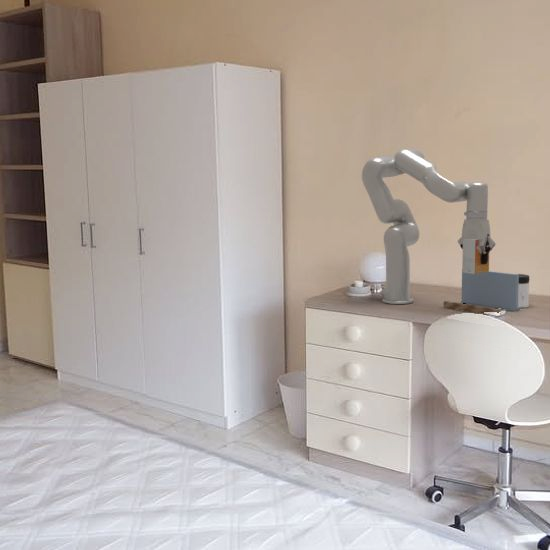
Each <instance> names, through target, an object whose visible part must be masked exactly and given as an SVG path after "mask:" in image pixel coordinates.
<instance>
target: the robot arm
mask: <svg viewBox="0 0 550 550" xmlns="http://www.w3.org/2000/svg"><path fill="white" fill-rule="evenodd" d="M404 174H407V175H408V176H410V177H411V178H413V179H415V180H416V181H418V182H419V183H421V184H422V185H423V187H424V188H425V189H426V190H427V191H428V192H430V193H431V194H432V195H434V196H436V197H438V199H440V200H442V201H443V202H446V203H451V204H452V203H460V202H466V211H464V213H463V215H464V216H465V217H466V218H464V220H463V223H462V228H461V229H462V230H461V237H460V238H459V239H458V240H457V243H458V245H459V246H460V248H461V249H462V250H463V239H465V238H467V239H478V246H479V247H481V249H482V252H483V254H481V264H487V262H488V253H489V254H490V252H491V251H492V250H493V248H494V247H495V246H496V245H497V243H496V242H495V241H494V239H492V238H491V227H490V220H489V219H488V200H489V197H488V195H489V186H488V183H486V182H483V181H482V182H479V181H478V182H475V181H474V182H466V181H453V182H452V181H450V180H449V179H446V178H445V177H443V176H442V175H441V174H439V173H438V172H437V166H436V164H434V163H433V162H431V161H429V160H428V159H426V158H425V155H424V153H423V152H422V151H421V150H419V149H418V148H402V149H400V150H398V151H397V152H396V153H395V154H394V155H390V156H374V157H371V158H370V159H368V161H365V164H364V165H363V168H362V170H361V181H362V183H363V186H364V189H365V190H366V193H367V194H368V196H369V199H370V202H371V204H372V207H373V209H374V212H375V214H376V216H377V219H378V220H379V221H380V223H383V224H387V225H388V224H393V225H391V226H389V227H388V228H387V229H386V230H385V231H384V232H383V233H384V234H383V244H384V249H385V289H384V288H383V289H381V291H379V295H383V297H382V301H381V302H383V303H385V304H390V305H391V304H392V305H408V304H411V303H414V298H413V297H411V296H410V285H411V284H410V282H411V281H410V277H411V276H410V273H411V271H410V270H411V269H410V267H411V265H410V253H409V249H408V247H410V246H414V245H415V244H417V243H418V241H419V239H420V230H419V227H418V224H417V222H416V220H415V218H414V215H413V212H412V210H411V209H410V207H409V205H408V204H407V203H406V201H404V200H402V199H398V198H397V199H394V197H393V196H392V192H391V191H390V189H389V187H388V185H387V184H386V183H385V181H384V180H383V179H384V178H393V177H394V178H395V177H397V176H401V175H404ZM486 241H487V243H486ZM488 245H489V247H488Z"/></svg>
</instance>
